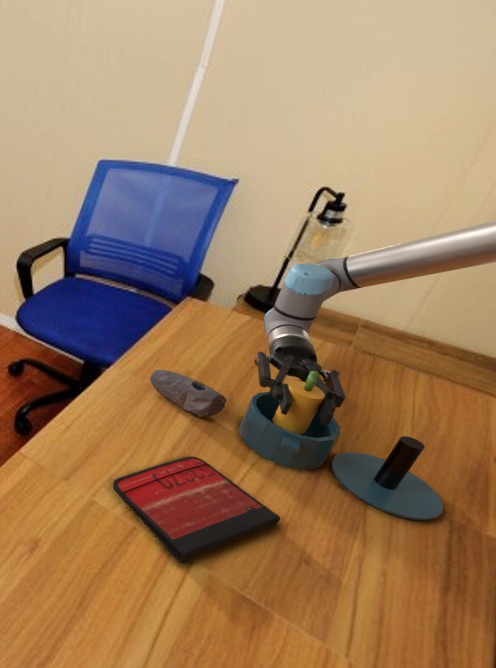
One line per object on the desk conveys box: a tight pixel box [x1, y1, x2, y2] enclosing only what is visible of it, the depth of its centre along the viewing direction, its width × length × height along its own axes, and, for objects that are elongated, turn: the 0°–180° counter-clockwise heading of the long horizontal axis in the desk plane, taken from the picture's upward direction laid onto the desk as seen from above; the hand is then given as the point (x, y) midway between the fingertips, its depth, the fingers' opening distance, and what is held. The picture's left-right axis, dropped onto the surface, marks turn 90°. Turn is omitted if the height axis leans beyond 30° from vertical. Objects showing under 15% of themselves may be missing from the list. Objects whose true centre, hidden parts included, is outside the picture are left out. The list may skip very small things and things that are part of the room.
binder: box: [112, 456, 281, 563], centre depth 88 cm, size 16×2×21 cm
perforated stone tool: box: [149, 369, 228, 418], centre depth 111 cm, size 15×5×7 cm, turn 29°
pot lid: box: [330, 435, 444, 521], centre depth 89 cm, size 15×15×11 cm
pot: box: [238, 391, 342, 471], centre depth 100 cm, size 14×19×8 cm
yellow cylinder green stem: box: [272, 371, 325, 435], centre depth 96 cm, size 5×5×13 cm
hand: (306, 414), depth 92 cm, fingers closed on yellow cylinder green stem, 5 cm apart
